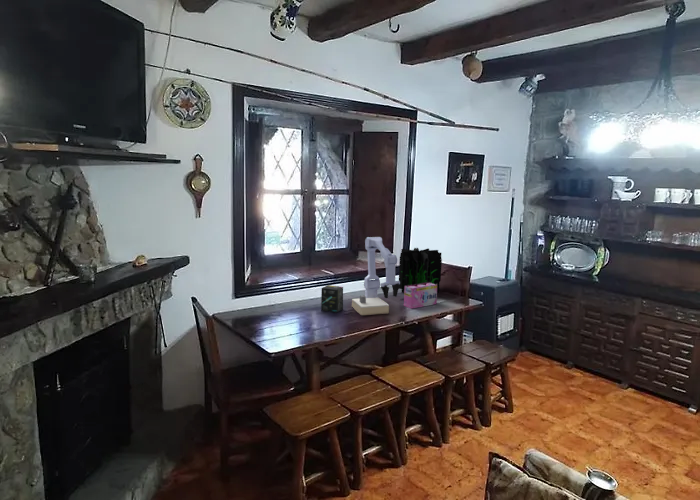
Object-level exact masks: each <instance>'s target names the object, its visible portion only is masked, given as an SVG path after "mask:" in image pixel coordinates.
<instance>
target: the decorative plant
mask: <svg viewBox="0 0 700 500" xmlns="http://www.w3.org/2000/svg"><path fill="white" fill-rule="evenodd" d="M400 251H401V252H400V255H399V264H398V265H399V267H398V281H400V284H399V285H400V288H399V290H401V293H403V294H404V289H405V286H407V285H414V284H420V283H426V282H431V283H432V284H435V285H436V284H437V294H439V293H440V282H441V280H442V279H441V278H442V265H443V264H442V263H443V259H442V252H439V249H430V248H425V249H419V247H414V248H413V249H407V248H401V249H400Z"/></svg>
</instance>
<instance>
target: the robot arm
mask: <svg viewBox="0 0 700 500" xmlns="http://www.w3.org/2000/svg"><path fill="white" fill-rule="evenodd" d="M364 243H365V245H364V247H365V250H366V251H367V253H366V254H367V273H368V274H367V276H365V277H364V280H363V288H364V289H365V291H364V295H365V296H366V298H376V297H378V291H379V290H380V289H381V290H382V293H383V296H384V299H389V298H388V297H389V290H390V287H392V294H393V295H392V296H393V297H395V298H397V295H398V293H399V290H400V289H399V288H400V285H399V284H400V281H399V280H396V265H397V264H398V258H397V255H396V254H392V252H391V251H390V250H389V248H387V247H386V246H385V245H384V244H383V238H382V237H381V236H372V237H371V236H370V237H369V236H367V237H366V238H365V240H364ZM376 250H378V251H380V252H379V254H380V256H381V257H382V258H383V262H384V267H385V281H384V282H381V281H380V277H379V276H378V275H377V272H376V270H377V269H376V266H377V265H376Z"/></svg>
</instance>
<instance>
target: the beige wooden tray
mask: <svg viewBox="0 0 700 500" xmlns="http://www.w3.org/2000/svg"><path fill="white" fill-rule="evenodd" d="M352 307H353V308H354V309H353V308H352ZM351 308H352V309H353V310H355V312H357V313H358V314H359V315H360V316H371V315H382V314H383V315H384V314H385V315H386V314H389V313H390V312H389V311H390V305H389V306H384V307H369V308H361V307H360V306H358V305H357V304H356V303H355V302H354V301H353V300H352V299H351Z"/></svg>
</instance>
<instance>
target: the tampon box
mask: <svg viewBox="0 0 700 500" xmlns="http://www.w3.org/2000/svg"><path fill="white" fill-rule="evenodd" d="M320 301H321V303H320V309H321V311H322V310H323V311H324V312H328V311H330V313H336V314H337V313H338V312H340V311H342V310H343V309H344V286H338V285H330V284H328V285H325V286H324V287H321V298H320ZM323 311H322V312H323Z"/></svg>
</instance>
